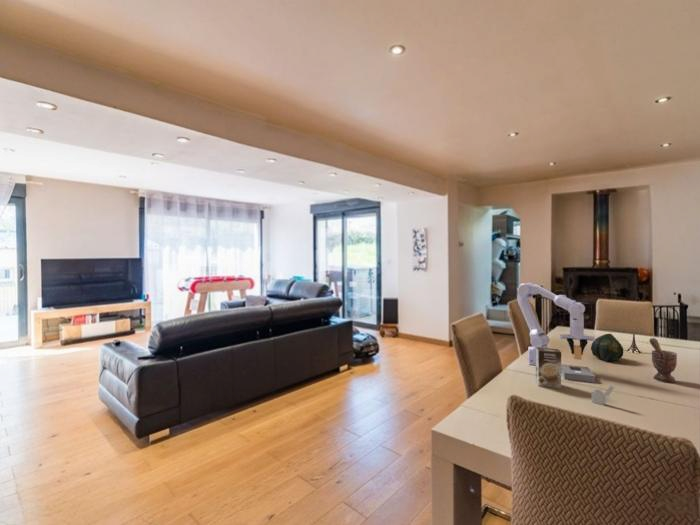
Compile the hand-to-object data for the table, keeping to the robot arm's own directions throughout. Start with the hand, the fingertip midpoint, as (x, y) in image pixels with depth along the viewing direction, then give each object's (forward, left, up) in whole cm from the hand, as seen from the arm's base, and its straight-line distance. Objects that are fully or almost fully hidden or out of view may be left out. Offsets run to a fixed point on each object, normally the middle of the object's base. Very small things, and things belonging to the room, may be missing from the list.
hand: (576, 354), depth 172 cm
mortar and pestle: (+33, 0, -9) cm, 35 cm away
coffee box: (-15, -25, -9) cm, 31 cm away
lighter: (+2, -40, -9) cm, 41 cm away
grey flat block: (-1, -7, -9) cm, 11 cm away
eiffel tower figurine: (+39, +54, -10) cm, 68 cm away
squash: (+20, +31, -9) cm, 38 cm away
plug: (0, 0, -2) cm, 2 cm away
